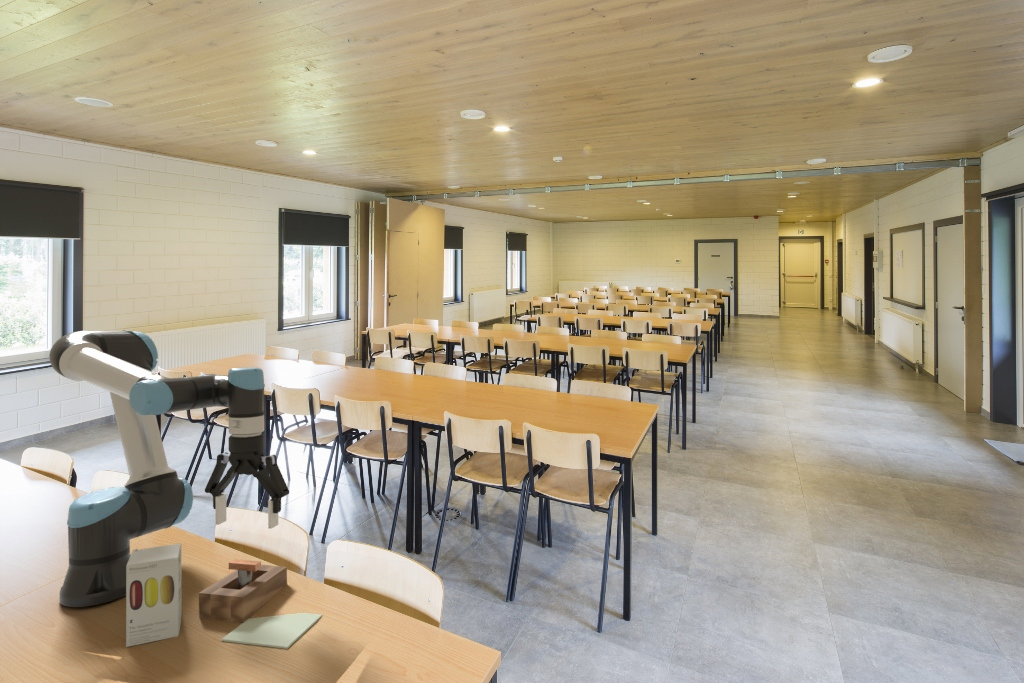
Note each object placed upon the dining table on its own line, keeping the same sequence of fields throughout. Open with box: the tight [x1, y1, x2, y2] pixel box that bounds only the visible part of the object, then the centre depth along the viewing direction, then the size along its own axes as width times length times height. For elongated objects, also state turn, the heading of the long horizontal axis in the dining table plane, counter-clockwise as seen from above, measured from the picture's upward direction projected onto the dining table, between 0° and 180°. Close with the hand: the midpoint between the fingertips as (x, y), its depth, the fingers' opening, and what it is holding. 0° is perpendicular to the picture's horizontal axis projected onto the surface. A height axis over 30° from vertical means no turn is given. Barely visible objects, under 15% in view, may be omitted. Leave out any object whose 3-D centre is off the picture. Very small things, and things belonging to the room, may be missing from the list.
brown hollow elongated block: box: [198, 564, 288, 625], centre depth 129 cm, size 11×16×6 cm
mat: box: [221, 612, 323, 650], centre depth 119 cm, size 15×13×1 cm
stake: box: [228, 558, 262, 590], centre depth 129 cm, size 7×4×10 cm, turn 78°
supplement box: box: [125, 542, 183, 648], centre depth 118 cm, size 10×9×17 cm
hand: (246, 524), depth 130 cm, fingers open, 13 cm apart
